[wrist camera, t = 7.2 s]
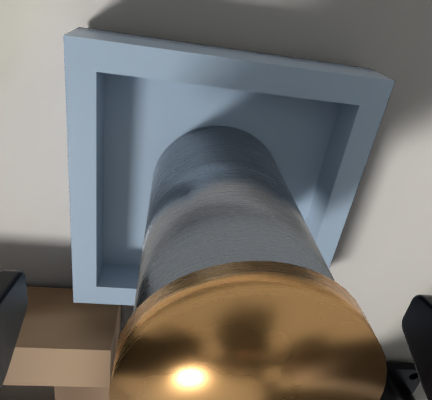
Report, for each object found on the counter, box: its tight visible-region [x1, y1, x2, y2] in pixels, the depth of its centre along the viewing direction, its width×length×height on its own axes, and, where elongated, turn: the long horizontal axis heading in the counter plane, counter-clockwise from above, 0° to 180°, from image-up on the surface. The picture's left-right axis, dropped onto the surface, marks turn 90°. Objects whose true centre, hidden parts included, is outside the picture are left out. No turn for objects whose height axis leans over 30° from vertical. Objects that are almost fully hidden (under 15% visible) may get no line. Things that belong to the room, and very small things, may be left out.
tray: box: [64, 27, 395, 306], centre depth 13 cm, size 9×9×2 cm
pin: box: [109, 126, 387, 400], centre depth 10 cm, size 5×5×8 cm
